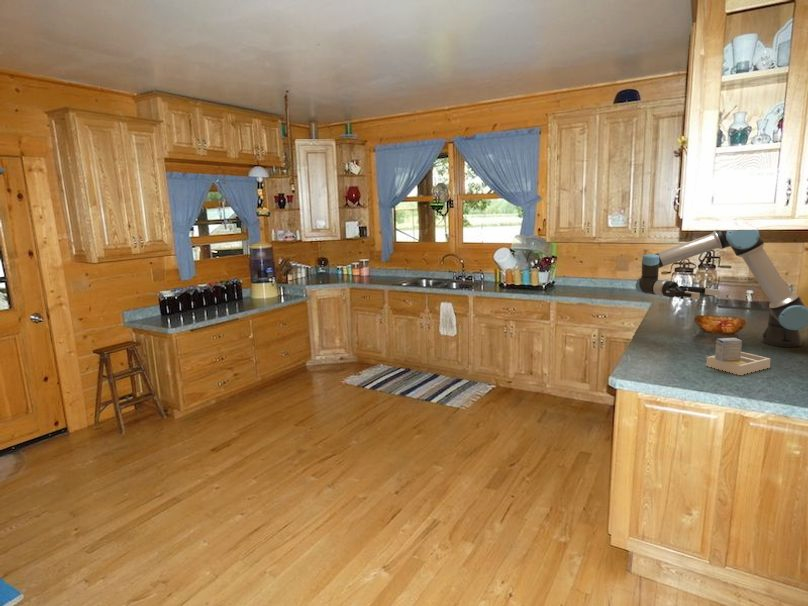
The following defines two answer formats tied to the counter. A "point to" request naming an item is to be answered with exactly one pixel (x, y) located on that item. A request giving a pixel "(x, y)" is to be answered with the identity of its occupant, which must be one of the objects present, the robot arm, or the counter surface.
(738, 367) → the board
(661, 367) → the counter surface
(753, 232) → the robot arm
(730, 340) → the medicine box
